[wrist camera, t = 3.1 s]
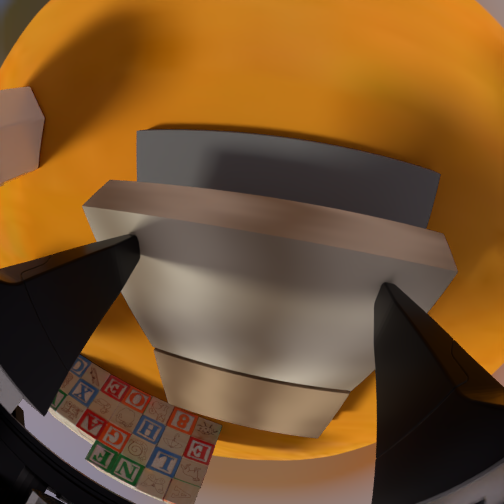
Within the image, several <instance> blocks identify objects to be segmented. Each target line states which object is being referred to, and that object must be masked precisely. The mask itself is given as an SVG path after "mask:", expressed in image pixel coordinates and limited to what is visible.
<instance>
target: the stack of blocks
mask: <svg viewBox="0 0 504 504" xmlns="http://www.w3.org/2000/svg"><path fill="white" fill-rule="evenodd" d="M49 411H50V413H51V414H52V415H53V417H55V418H56V419H57V420H59V421H60V422H61V423H63V424H64V425H65V426H67V427H68V428H69V429H70V430H72V431H73V432H75V433H76V434H77V435H79V436H80V437H82V438H83V439H85V440H87V441H88V442H89V443H91V444H93V446H92V447H91V449H90V451H89V453H88V454H87V456H86V458H85V459H86V460H87V461H88V462H89V463H90V464H92V465H93V466H94V467H95V468H96V469H98V470H99V471H101V472H103V473H104V474H106V475H108V476H110V477H111V478H113V479H115V480H117V481H118V482H120V483H122V484H124V485H126V486H128V487H130V488H132V489H134V490H136V491H139V492H141V493H144V494H146V495H148V496H150V497H153V498H155V499H157V500H160V501H164V502H165V503H168V504H194V502H195V500H196V497H197V494H198V492H199V489H200V488H201V485H202V483H203V480H204V476H205V474H206V472H207V468H208V465H209V462H210V459H211V457H212V454H213V451H214V448H215V444H216V442H217V439H218V436H219V434H220V431H221V428H222V425H220V424H217V423H214V422H211V421H209V420H206V419H204V418H201V417H199V416H197V415H194V414H192V413H189V412H187V411H185V410H182V409H180V408H178V407H175V406H173V405H171V404H169V403H167V402H165V401H162V400H160V399H158V398H156V397H154V396H151V395H149V394H147V393H145V392H143V391H141V390H139V389H137V388H135V387H133V386H131V385H129V384H128V383H126V382H124V381H122V380H120V379H119V378H117V377H115V376H113V375H111V374H110V373H108V372H107V371H105V370H103V369H102V368H100V367H98V366H97V365H95V364H94V363H92V362H91V361H89V360H88V359H86V358H85V357H83V356H82V355H80V354H79V356H78V358H77V359H76V361H75V363H74V364H73V366H72V368H71V369H70V371H69V372H68V375H67V377H66V378H65V380H64V382H63V384H62V385H61V387H60V389H59V391H58V393H57V395H56V396H55V398H54V400H53V402H52V404H51V406H50V408H49Z"/></svg>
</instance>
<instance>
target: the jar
mask: <svg viewBox="0 0 504 504" xmlns="http://www.w3.org/2000/svg"><path fill="white" fill-rule="evenodd" d="M44 121H45V117H44V115H43V113H42V111H41V109H40V107H39V105H38V103H37V101H36V98H35V96H34V94H33V92H32V90H31V87H20V88H13V89H6V90H0V186H3V185H4V184H5V183H7V182H9V181H12V180H14V179H17V178H19V177H21V176H23V175H25V174H27V173H29V172H32V171H34V170H36V169H37V168H38V166H39V156H40V147H41V140H42V133H43V127H44Z"/></svg>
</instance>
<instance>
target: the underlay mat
mask: <svg viewBox="0 0 504 504" xmlns="http://www.w3.org/2000/svg"><path fill="white" fill-rule="evenodd" d="M440 175H441V174H439V173H437V172H435V171H433V170H430V169H427V168H423V167H420V166H417V165H414V164H410V163H407V162H403V161H400V160H396V159H393V158H389V157H385V156H381V155H377V154H373V153H369V152H365V151H360V150H356V149H351V148H347V147H342V146H337V145H331V144H326V143H321V142H315V141H309V140H302V139H296V138H289V137H281V136H273V135H265V134H255V133H244V132H231V131H216V130H189V129H152V130H140V131H137V182H147V183H158V184H169V185H179V186H189V187H198V188H206V189H214V190H222V191H230V192H238V193H245V194H252V195H259V196H265V197H272V198H278V199H284V200H290V201H296V202H302V203H308V204H313V205H319V206H324V207H329V208H334V209H340V210H345V211H350V212H354V213H359V214H364V215H369V216H373V217H378V218H382V219H387V220H391V221H395V222H400V223H404V224H408V225H412V226H416V227H420V228H424V229H426V228H427V224H428V221H429V218H430V214H431V211H432V207H433V204H434V200H435V196H436V192H437V188H438V184H439V179H440ZM349 393H350V391H349Z"/></svg>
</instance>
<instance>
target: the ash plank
mask: <svg viewBox="0 0 504 504" xmlns="http://www.w3.org/2000/svg"><path fill="white" fill-rule="evenodd" d="M82 207H83V209H84V212H85V214H86V217H87V219H88V222H89V224H90V227H91V229H92V232H93V234H94V236H95V239H96V241H97V242H99V241H103V240H106V239H110V238H114V237H118V236H122V235H126V234H131V235H135V236H137V238H138V241H139V247H140V260H139V262H138V264H137V265H136V267H135V269H134V270H133V272H132V274H131V275H130V277H129V279H128V281H127V282H126V284H125V286H124V287H123V289H122V291H121V293H122V294H123V296H124V298H125V300H126V302H127V304H128V306H129V307H130V309H131V311H132V313H133V314H134V316H135V318H136V320H137V321H138V323H139V325H140V326H141V328H142V330H143V331H144V333H145V335H146V336H147V338H148V340H149V341H150V343H151V344H152V346H153V347H155V348H158V349H161V350H164V351H167V352H170V353H173V354H176V355H180V356H183V357H186V358H189V359H193V360H196V361H199V362H203V363H207V364H210V365H214V366H218V367H221V368H225V369H229V370H233V371H237V372H242V373H246V374H250V375H255V376H259V377H264V378H269V379H274V380H280V381H285V382H291V383H296V384H303V385H309V386H316V387H323V388H331V389H339V390H349V391H352V390H353V389H354V388H355V387H356V386H357V385H359V384H360V383H361V382H362V381H363V380H364V379H365V378H366V377H367V376H368V375H369V374H371V373H372V372H373V371H374V370H375V357H374V303H375V300H376V297H377V295H378V292H379V290H380V287H381V285H382V284H383V283H384V282H388V283H393V284H395V285H396V286H397V287H398V288H400V289H401V290H402V291H403V292H404V293H405V294H406V295H407V296H409V297H410V298H411V299H412V300H413V301H414V302H415V303H416V304H417V305H418V306H419V307H421V308H422V309H423V310H424V311H425V312H426V313H428V311H429V310H430V309H431V308H432V306H433V305H434V304H435V303H436V301H437V300H438V299H439V297H440V296H441V295H442V293H443V292H444V291H445V289H446V288H447V287H448V285H449V284H450V282H451V281H452V280H453V278H454V277H455V275H456V274H457V272H458V270H457V267H456V265H455V262H454V259H453V256H452V254H451V251H450V248H449V246H448V243H447V241H446V238H445V236H444V234H443V233H439V232H435V231H432V230H428V229H424V228H420V227H416V226H412V225H408V224H404V223H400V222H395V221H391V220H387V219H382V218H378V217H373V216H369V215H364V214H359V213H354V212H350V211H345V210H340V209H334V208H329V207H324V206H319V205H313V204H308V203H302V202H296V201H290V200H284V199H278V198H272V197H265V196H259V195H252V194H245V193H238V192H230V191H222V190H214V189H206V188H198V187H189V186H179V185H169V184H158V183H147V182H134V181H120V180H109V181H108V182H107V183H106V184H105V185H104V186H103V187H101V188H100V189H99V190H98V191H97V192H96V193H95V194H94V195H93V196H92V197H91V198H90V199H89V200H88V201H87V202H86V203H85V204H84V205H83V206H82Z"/></svg>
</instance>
